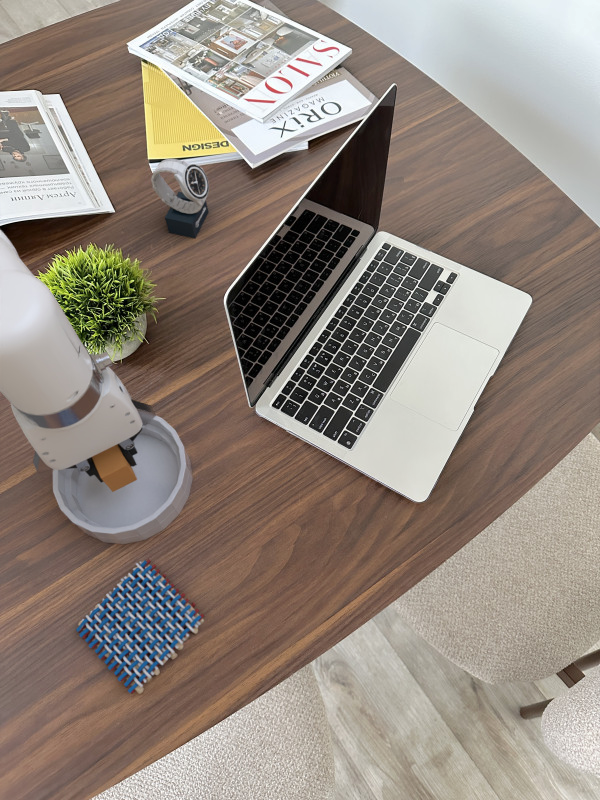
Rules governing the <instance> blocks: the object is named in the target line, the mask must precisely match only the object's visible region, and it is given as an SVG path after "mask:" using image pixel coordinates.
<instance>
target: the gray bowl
mask: <svg viewBox="0 0 600 800" xmlns="http://www.w3.org/2000/svg"><path fill="white" fill-rule="evenodd" d="M133 442H134V444H135V448H136V450H137V452H138V453H137V454H135V455H133V458H134V460H135V462H136V464H137V465H136V466H134V467H132V466H131V467H132V469H133V471H134V473H135V475H136V477H137V480H136V481H134V482H132V483H130V484H128V485H126V486H124V487H122V488H120V489H118V490H116V491H114V492H112V491H111V489H110V488H109V487H108V486H107V485H106V484H105V482H102V483H101V482H100V481H99V480H98V479H97V477H96V476H95V475H93V476H91V477H90V476H89V475H88V474H87V473H86V472H80V471H79V470H78V468H72V469H62V470H55V469H54V470H52V492H53V494H54V497H55V500H56V502H57V505H58V507H59V509H60V510H61V512H62V513H63V514H64V515H65V516H66V517H67V518H68V519H69V521H71V522H72V523H73V524H74V525H75V526H76V527H77V528H79V530H81V531H82V532H83V533H84V534H86V535H88V536H89V537H92V538H94V539H96V540H99V541H100V542H102V543H106V544H107V543H108V544H117V545H127V544H132V543H137V542H143V541H146V540H147V539H150V538H151V537H153V536H155V535H158V534H159V533H160V532H163V531H164V530H165V529H166V528H167V527H168V526H169V525H170V524H171V523H173V521H174V520H175V519H176V518H178V516H180V514H181V512H182V510H183V508H184V507H185V505H186V503H187V501H188V499H189V497H190V494H191V489H192V485H193V469H192V462H191V458H190V456H189V454H188V452H187V450H186V447H185V445H184V444H183V442H182V440H181V438H180V436H179V434H178V432H177V431H176V429H175V428H174V427H173V426H172V425H171V424H169V422H167V421H166V420H165V419H164V418H162V417H160V416H158V415H156V416H155V417H154V418H153V419H152V420H151V421H150V422H149V423H147V424H146V425H145V426H144V425H143V426H142V431H141V432H140V433H139V434H138V436H137V437H136V438H135V439H134V441H133Z"/></svg>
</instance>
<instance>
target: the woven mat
mask: <svg viewBox="0 0 600 800" xmlns="http://www.w3.org/2000/svg"><path fill="white" fill-rule="evenodd" d="M151 562H152V561H151V560H150V559H149V558H148V559H147V560H146V559H145V560H142V561H141V560H140V561H139V562H136V563H135V565H136V566H135V567H133V568H132V573H130V572H128V574H127V576H126V575H125V576H123V577H121V578H120V581H119V583H118V582H117V584H116V586H117V587H113V589H112V590H113V591H108V593H106V594H105V596H106V598H104V597H103V598H102V599H101V601H102V602H101V603H97V604H96V605H95V607H94V608H93V610H91V611H90V612H89V613H88V614H86V615H85V618H82V619H81V620H80V621H79V622H78V624H77V626H78V627H76V629H75V631H76V632H77V633H78V636H79V638H82V639H83V640H85V642H86V643H87V644H88V647H89V648H90V649H92V650H94V649H95V648H96V647H97V648H96V649H95V650H94V653H95V654H96V655H98V656H97V658H98V659H99V660H101V661H104V662H103V663H104V664H105V665H106V666H108V667H107V669H108V670H109V671H111V672H113V671H114V670H115V669H116V670H115V671H114V672H113V674H114V675H115V676H116V677H117V680H118V682H121V683H122V682H124V681H125V680H126V681H125V682H124V684H123V686H124V687H125V688H126V689H127V692H128V693H129V694H131V695H133V694H134V693H135V692H137V694H139V695H140V694H142V693H143V692H144V690H145V688H144V684H146V683H147V684H148V683H149V682H150V681H151V680H152V679H153V677H152V676H154V675H156V676H158V675H159V674H160V673H161V672H160V668H159V665H161V666H164V665H165V664H166V663H167V661H168V660H169V658H170V659H171V660H175V659H176V658H178V654H177V653H176V651H175V649H176V650H177V651H181V650H183V649H184V642H185V641H187V640H188V639H189V638H190V632H192V633H193V634H195V635H197V634H198V632H199V626H201V625H202V624H203V623H204V622H205V619H204V617H205V615H204V613H200V614H199V612H200V610H199V608H195V607H196V604H197V603H195V602H192V603H191V604H190V603H189V602H190V600H189V598H186V599H185V598H184V597H185V596H186V594H185V593H184V592H182V593H179V592H180V589H179V588H176V589H175V588H174V587H176V586H175V584H174V583H171V584H170V582H171V580H170V579H169V578H166V577H167V575H166V574H165V573H163V574H162V575H161V574H160V572H161V570H160V569H159V568H157V569H156V567H157V565H156V564H155V563H154V564H152V565H151ZM150 592H151V593H150ZM185 627H186V628H185ZM184 628H185V629H184ZM128 634H129V635H128ZM170 643H171V644H170ZM169 644H170V645H169ZM144 649H145V650H144ZM143 650H144V651H143ZM138 677H139V678H138Z"/></svg>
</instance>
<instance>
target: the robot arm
mask: <svg viewBox="0 0 600 800" xmlns="http://www.w3.org/2000/svg"><path fill="white" fill-rule="evenodd" d="M113 365H114V363H113V361H112V359H111V357H110V355H109V353H108V351H107V350H106V351H104V352H102V353H96V354H94V353H90V352H89V350H88V349H87V347H86V346H85V345H84V344H83V342H82V340H81V338H79V335H78V334H77V332H76V330H75V328H74V326H72V324H71V322H70V320H69V319H68V317H67V315H66V313H65V312H64V310H63V309H62V307H61V305H60V303H59V302H58V300H57V298H56V296H55V295H54V294H53V293H52V291H51V289H50V288H49V287H48V286H47V285H46V283H44V282H43V281H42V280H41V279H39V278H37V276H35V274H34V273H33V272H32V271H31V270H30V269H29V268H28V266H27V265H26V264H25V262H24V261H23V260H22V259H21V258H20V255H19V253H18V251H17V249H16V248H15V246H14V245H13V243H12V241H11V240H10V239H9V238H8V236H7V235H6V233H4V231H3V230H2V229H0V393H1V394H2V395H3V397H5V398H6V399H7V400H8V402H9V403H10V408H11V410H12V413H13V416H14V418H15V421H16V422H17V424H18V425H19V427H20V429H21V431H22V433H23V434H24V436H25V437H26V439H27V441H28V443H29V444H30V445H31V447H32V448H33V450H34V455H33V460H32V463H33V466H34V469H35V471H36V473H37V474H39V473H45V472H50V471H53V470H54V469H55V470H62V469H72V468H78V470H79V471H80V472H86V473H87V474H88V475H89V476H90V477H91V476H93V475H95V476H96V477H97V479H98V480H99V481H100V482H101V483H102V482H104V481H103V480H102V479H101V477H100V475H99V473H98V471H97V468H96V466H95V464H94V461H93V459H92V456H94V455H97V454H99V453H101V452H103V451H105V450H107V449H109V448H111V447H113V446H115V445H117V444H118V446H119V448H120V450H121V452H122V454H123V456H124V457H125V459H126V460H127V462H128V463H129V465H130V466H132V467H134V466H136V465H137V464H136V462H135V460H134V458H133V455H135V454H137V453H138V452H137V450H136V448H135V444H134V442H133V441H134V439H135V438H136V437H137V436H138V434H139V433H140V432H141V431H142V426H143V425H144V426H145V425H146V424H147V423H149V422H150V421H151V420H152V419H153V418H154V417H155V416H157V413H156V411H155V410H154V408H153V406H152V405H151V404H148V403H145V402H141V401H138V400H135V399H133V398H132V396H131V394H130V393H129V391H128V389H127V388H126V386H125V385H124V383H123V382H122V380H121V379H120V378H119V377H118V375H117V374H116V372H115V371H114V370H113V369H111V368H110V367H112V366H113Z"/></svg>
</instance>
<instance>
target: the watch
mask: <svg viewBox="0 0 600 800" xmlns="http://www.w3.org/2000/svg"><path fill="white" fill-rule="evenodd" d="M160 173H171V174H174V175H173V177H174V179H175V181H176V182H177V183H178V184H179V188H180V190H181V191H178V192H177V194H176V192H175V191H173V189H172V188H171V186H169V184H168V183H167V182H166V180H165V179H164V177H163V176H161V174H160ZM150 179H151V180H150V181H151V184H152V189H153V190H154V192H155V194H156V195H157V196H158V197H159V199H160V200H161V202H163V203H164V204H165V205H166V206H167V207H169V209H168V211H167V213H166V215H165V216H164V220H165V224H166V228H167V231H168V233H169V234H173V235H178V236H182V237H187V238H191V239H196V238H197V236H198V234H199V232H200V230H201V228H202V226H203V225H204V223H205V220H206V218H207V216H208V214H209V208H208V204H207V197H208V196H209V192H210V183H209V179H208V176H207V173H206V171H204V168H203V167H201V166H200V165H198V164H196V163H191V162H189V161H186V160H185V159H183V160H181V159H177V158H166V159H164V160H161V161H160V162H159V163H158V165H157V166H156V168H155V170H154V172H153V173H152V175H151V178H150Z"/></svg>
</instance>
